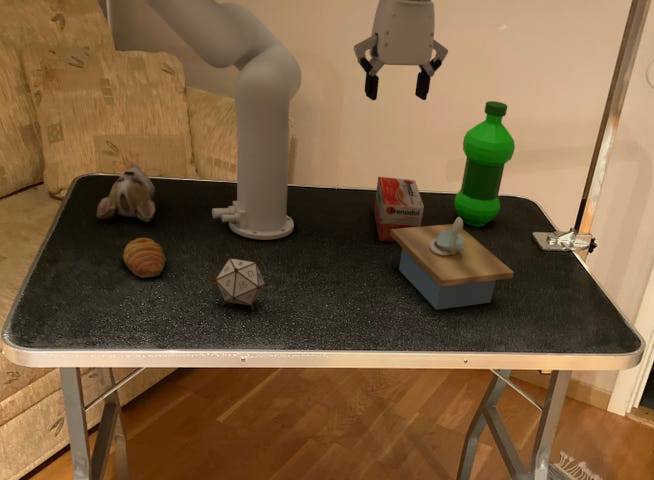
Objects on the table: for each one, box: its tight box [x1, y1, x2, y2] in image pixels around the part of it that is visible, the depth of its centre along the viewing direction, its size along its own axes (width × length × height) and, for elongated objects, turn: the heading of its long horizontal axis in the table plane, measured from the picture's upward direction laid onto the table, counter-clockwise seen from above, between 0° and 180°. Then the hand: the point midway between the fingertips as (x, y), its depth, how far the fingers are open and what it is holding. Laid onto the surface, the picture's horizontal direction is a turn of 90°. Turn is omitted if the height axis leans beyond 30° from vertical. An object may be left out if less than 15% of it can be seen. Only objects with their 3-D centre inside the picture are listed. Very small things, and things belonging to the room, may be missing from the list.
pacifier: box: [429, 216, 465, 255], centre depth 129 cm, size 7×6×6 cm
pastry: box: [122, 237, 167, 279], centre depth 127 cm, size 9×7×4 cm
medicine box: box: [373, 176, 425, 243], centre depth 152 cm, size 15×8×8 cm, turn 6°
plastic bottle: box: [453, 100, 516, 227], centre depth 155 cm, size 10×10×25 cm
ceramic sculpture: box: [95, 164, 157, 223], centre depth 143 cm, size 11×9×15 cm
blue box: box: [398, 247, 496, 310], centre depth 134 cm, size 11×15×6 cm
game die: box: [209, 252, 271, 311], centre depth 120 cm, size 9×8×10 cm
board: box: [390, 223, 515, 287], centre depth 132 cm, size 14×20×1 cm
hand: (396, 98), depth 131 cm, fingers open, 9 cm apart
